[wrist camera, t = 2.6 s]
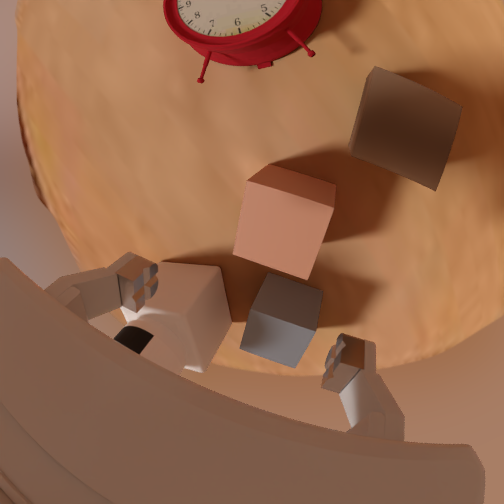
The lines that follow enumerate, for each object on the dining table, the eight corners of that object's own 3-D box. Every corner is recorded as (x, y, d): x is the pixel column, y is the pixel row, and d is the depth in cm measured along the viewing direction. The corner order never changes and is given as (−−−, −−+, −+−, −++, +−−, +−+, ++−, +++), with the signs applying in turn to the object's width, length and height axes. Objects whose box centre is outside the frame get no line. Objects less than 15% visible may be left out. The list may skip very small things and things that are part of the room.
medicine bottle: (176, 313, 30) (117, 391, 20) (159, 260, 27) (80, 337, 17) (233, 323, 28) (181, 418, 18) (221, 264, 25) (146, 364, 15)
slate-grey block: (268, 271, 24) (250, 308, 19) (323, 290, 23) (315, 331, 19) (256, 311, 26) (239, 348, 22) (305, 328, 25) (295, 368, 21)
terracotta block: (269, 163, 19) (246, 180, 15) (336, 184, 18) (334, 208, 14) (255, 223, 22) (232, 254, 18) (316, 243, 21) (307, 280, 17)
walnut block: (366, 78, 14) (374, 66, 10) (433, 106, 13) (462, 106, 9) (348, 145, 17) (351, 155, 12) (414, 170, 16) (435, 191, 12)
